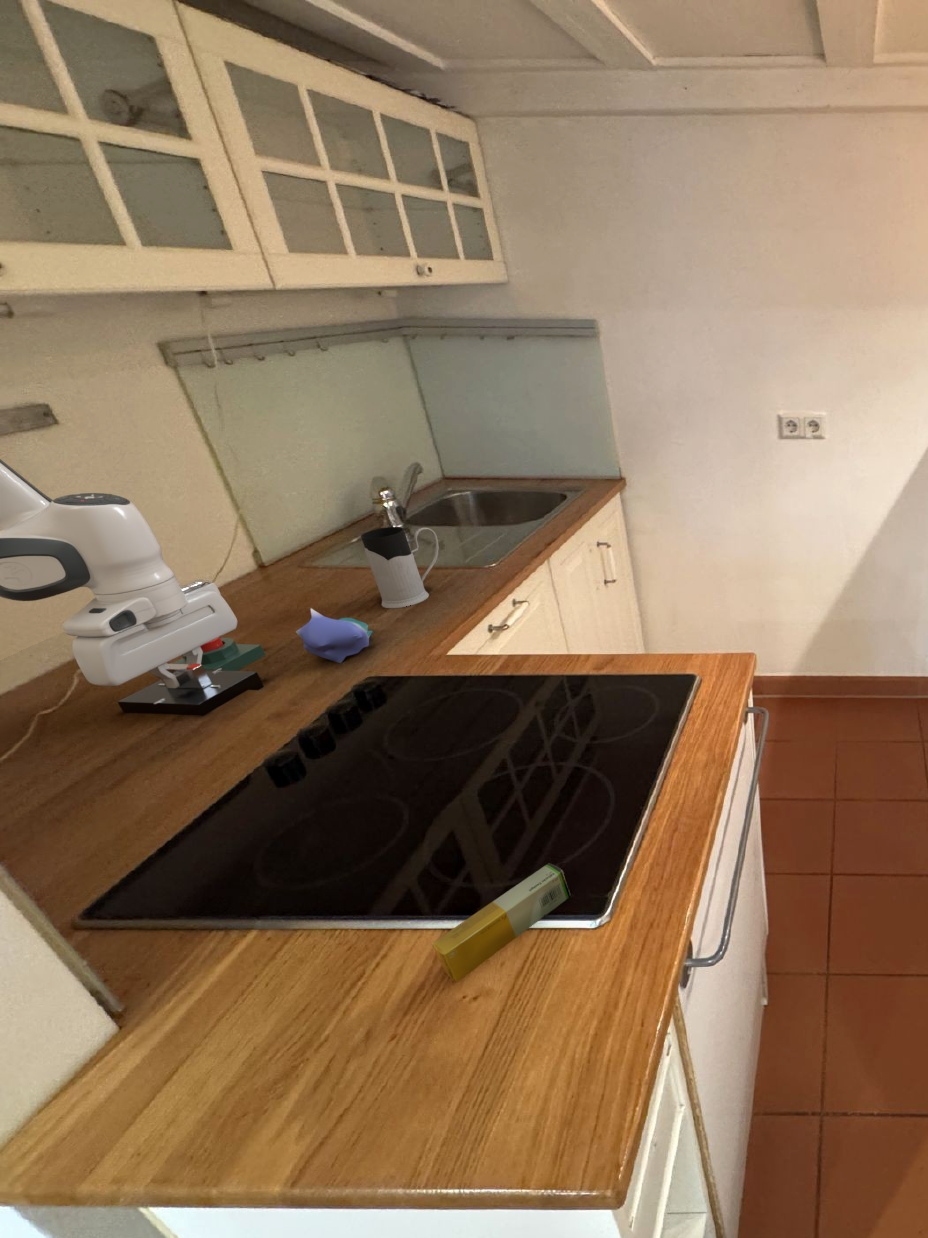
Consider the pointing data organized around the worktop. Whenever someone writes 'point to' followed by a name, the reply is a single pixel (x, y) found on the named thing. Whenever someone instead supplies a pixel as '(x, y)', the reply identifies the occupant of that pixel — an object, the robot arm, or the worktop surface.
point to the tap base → (192, 694)
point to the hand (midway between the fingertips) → (186, 681)
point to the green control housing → (228, 656)
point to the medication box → (501, 922)
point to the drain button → (212, 645)
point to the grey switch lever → (190, 675)
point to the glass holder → (396, 566)
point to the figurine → (334, 636)
